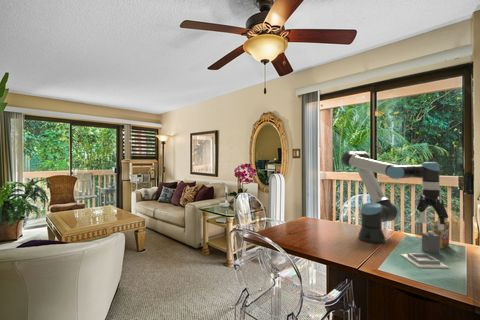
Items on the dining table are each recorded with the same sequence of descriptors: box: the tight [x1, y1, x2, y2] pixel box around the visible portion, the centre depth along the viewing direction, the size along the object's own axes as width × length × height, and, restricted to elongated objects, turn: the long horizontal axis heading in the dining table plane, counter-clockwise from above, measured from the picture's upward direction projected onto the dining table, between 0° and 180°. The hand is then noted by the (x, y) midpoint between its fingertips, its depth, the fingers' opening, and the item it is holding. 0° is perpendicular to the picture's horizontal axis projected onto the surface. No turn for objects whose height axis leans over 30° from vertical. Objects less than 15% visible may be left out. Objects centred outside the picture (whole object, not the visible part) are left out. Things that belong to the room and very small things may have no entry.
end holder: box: [400, 252, 450, 269], centre depth 119 cm, size 14×14×2 cm
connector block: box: [421, 230, 441, 254], centre depth 131 cm, size 5×6×12 cm
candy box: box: [433, 220, 451, 249], centre depth 138 cm, size 9×4×15 cm, turn 115°
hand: (431, 226), depth 131 cm, fingers open, 13 cm apart
